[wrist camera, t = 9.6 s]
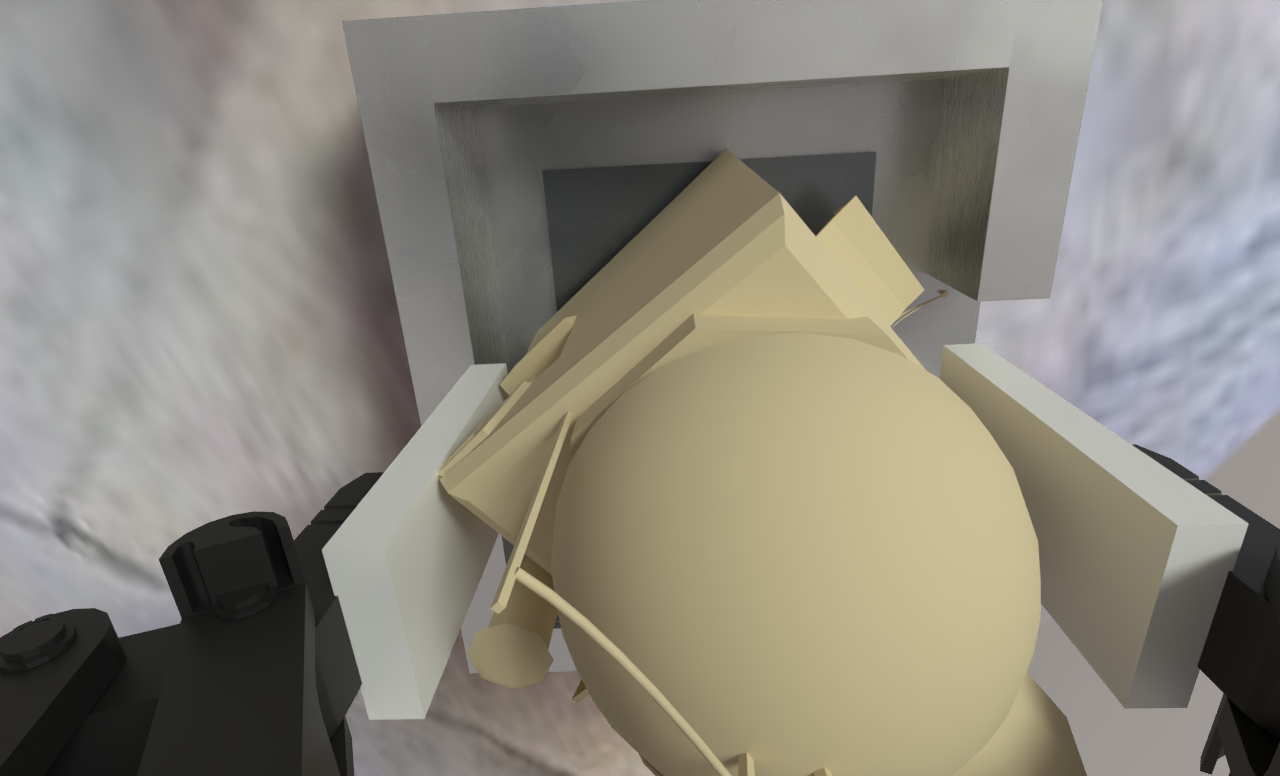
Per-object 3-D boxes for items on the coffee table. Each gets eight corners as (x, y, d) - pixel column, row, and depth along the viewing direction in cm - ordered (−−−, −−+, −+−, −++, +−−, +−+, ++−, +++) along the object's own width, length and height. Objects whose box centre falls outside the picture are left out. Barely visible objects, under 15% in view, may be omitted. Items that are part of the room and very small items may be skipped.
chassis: (502, 581, 22) (469, 673, 18) (415, 46, 16) (342, 21, 12) (928, 570, 21) (984, 664, 17) (1000, 7, 15) (1109, -32, 12)
